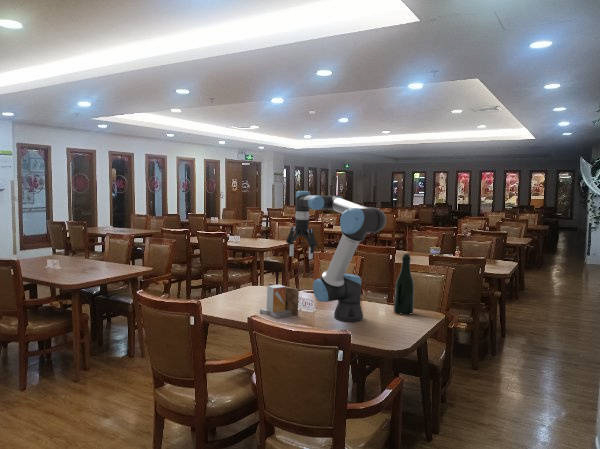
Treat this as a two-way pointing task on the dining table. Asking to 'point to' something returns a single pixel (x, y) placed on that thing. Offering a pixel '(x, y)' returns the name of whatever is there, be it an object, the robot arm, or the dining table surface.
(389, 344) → the dining table surface
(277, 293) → the small box
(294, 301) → the wall board
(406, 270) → the beer bottle
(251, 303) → the dining table surface
